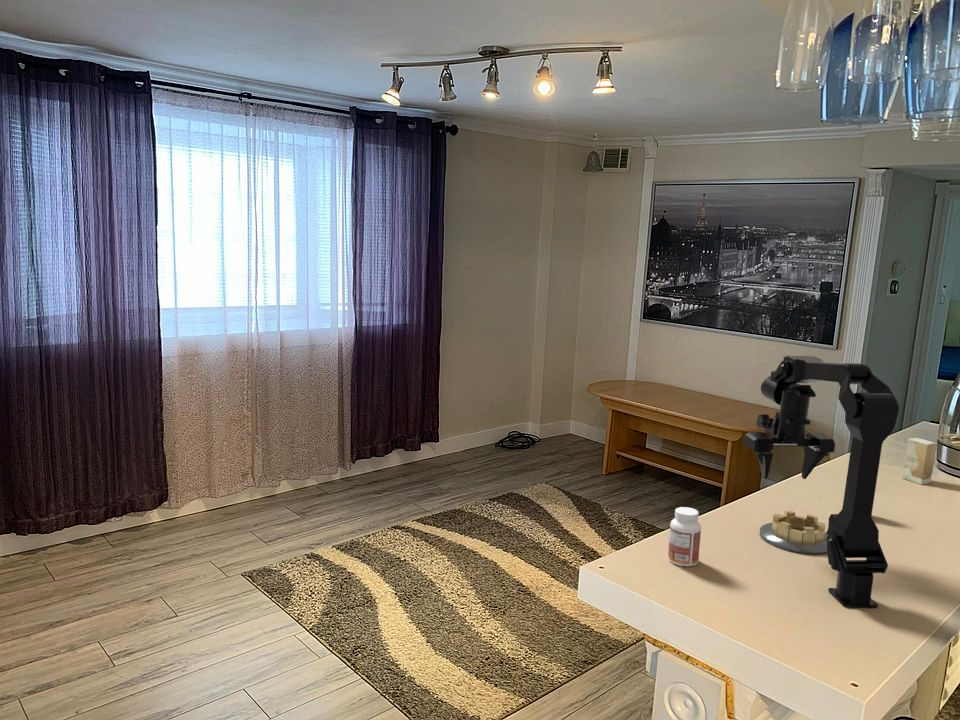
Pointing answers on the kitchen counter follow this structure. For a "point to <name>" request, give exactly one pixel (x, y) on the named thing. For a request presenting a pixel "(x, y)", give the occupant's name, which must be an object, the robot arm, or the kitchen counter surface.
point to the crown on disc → (796, 533)
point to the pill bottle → (684, 537)
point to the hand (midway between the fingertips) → (784, 478)
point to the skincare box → (919, 460)
